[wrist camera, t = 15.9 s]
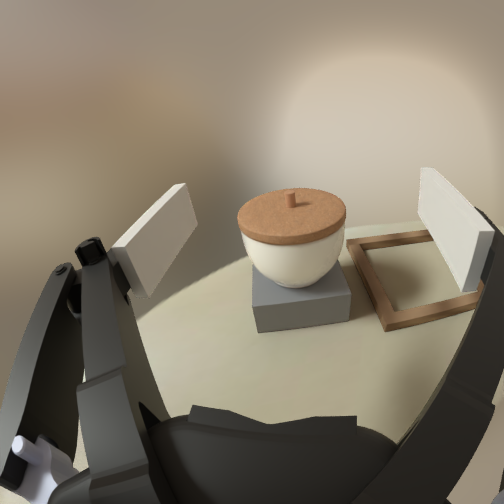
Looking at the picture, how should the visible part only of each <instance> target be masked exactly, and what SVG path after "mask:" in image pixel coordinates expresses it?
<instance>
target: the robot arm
mask: <svg viewBox="0 0 504 504" xmlns="http://www.w3.org/2000/svg"><path fill="white" fill-rule="evenodd" d="M418 215H419V216H420V218H421V220H422V221H423V223H424V224H425V226H426V228H427V229H428V231H429V233H430V234H431V236H432V238H433V239H434V241H435V243H436V244H437V246H438V248H439V250H440V252H441V253H442V255H443V257H444V259H445V261H446V263H447V264H448V266H449V268H450V270H451V272H452V274H453V276H454V278H455V280H456V282H457V284H458V286H459V288H460V290H461V292H470V291H476V290H477V287H478V284H479V281H480V279H481V280H482V282H483V284H484V288H483V290H482V293H481V295H480V298H479V300H478V302H477V305H476V309H475V311H474V314H473V316H472V318H471V321H470V323H469V325H468V328H467V330H466V332H465V334H464V336H463V339H462V341H461V343H460V345H459V347H458V349H457V351H456V353H455V355H454V357H453V359H452V361H451V363H450V365H449V366H448V368H447V370H446V372H445V374H444V375H443V377H442V379H441V381H440V382H439V384H438V386H437V387H436V389H435V391H434V392H433V394H432V396H431V397H430V399H429V400H428V402H427V404H426V405H425V407H424V408H423V410H422V411H421V413H420V414H419V416H418V417H417V418H416V420H415V421H414V423H413V424H412V425H411V427H410V428H409V429H408V431H407V432H406V433H405V434H404V436H403V437H402V438H401V440H400V441H399V442H398V443H397V444H396V443H394V442H393V441H392V440H391V439H389V438H388V437H386V436H385V435H383V434H381V433H379V432H377V431H374V430H372V429H369V428H365V427H361V426H357V416H327V417H317V416H315V417H310V418H305V419H300V420H295V421H289V422H283V423H277V424H265V423H262V422H259V421H256V420H253V419H251V418H248V417H245V416H242V415H240V414H237V413H234V412H232V411H229V410H222V409H215V408H208V407H202V406H197V405H192V408H191V411H190V414H189V415H182V416H177V417H173V418H171V417H170V416H169V414H168V412H167V410H166V408H165V405H164V403H163V400H162V397H161V395H160V392H159V390H158V387H157V384H156V382H155V379H154V376H153V373H152V370H151V367H150V365H149V362H148V359H147V356H146V353H145V349H144V346H143V343H142V340H141V337H140V333H139V330H138V326H137V323H136V319H135V316H134V312H133V308H132V305H131V301H130V299H129V296H128V295H127V292H128V291H129V289H130V288H131V289H132V291H133V293H134V295H135V297H136V298H150V296H151V295H152V293H153V291H154V290H155V288H156V287H157V285H158V284H159V282H160V280H161V279H162V277H163V276H164V274H165V273H166V271H167V270H168V268H169V266H170V265H171V263H172V262H173V260H174V259H175V257H176V256H177V254H178V253H179V251H180V250H181V248H182V246H183V245H184V244H185V242H186V241H187V239H188V238H189V236H190V235H191V233H192V232H193V231H194V229H195V228H196V226H197V225H198V224H197V220H196V217H195V213H194V210H193V207H192V203H191V199H190V196H189V192H188V189H187V185H186V183H183V184H176V185H174V186H173V187H172V188H170V189H169V190H168V191H167V192H166V193H165V194H164V195H163V196H162V197H161V198H160V199H159V200H158V201H157V202H156V203H155V204H154V205H153V206H151V207H150V208H149V209H148V210H147V211H146V212H145V213H144V214H143V215H142V216H141V217H140V218H139V219H138V220H137V221H136V222H135V223H134V224H133V225H132V226H131V227H130V228H129V229H128V231H126V233H124V235H123V236H122V237H121V238H120V239H119V240H118V241H117V242H116V243H115V244H114V245H113V246H112V247H111V249H110V250H109V251H108V252H107V253H106V251H105V249H104V247H103V244H102V242H101V240H100V238H99V237H93V238H90V239H87V240H86V241H84V242H82V243H81V244H80V245H78V247H77V248H76V249H75V253H76V255H77V257H78V259H79V261H80V263H81V265H82V269H79V270H76V271H75V270H74V267H73V266H72V264H71V263H64V264H61V265H59V266H57V267H56V269H55V270H54V271H53V272H52V274H51V275H50V277H49V279H48V281H47V283H46V285H45V287H44V289H43V291H42V293H41V296H40V298H39V300H38V302H37V304H36V307H35V309H34V311H33V313H32V316H31V318H30V321H29V323H28V325H27V328H26V330H25V333H24V336H23V338H22V341H21V344H20V347H19V349H18V352H17V355H16V358H15V361H14V364H13V367H12V370H11V374H10V377H9V380H8V384H7V387H6V391H5V395H4V399H3V403H2V407H1V411H0V486H2V487H4V488H6V489H8V490H10V491H11V492H13V493H16V494H18V495H20V496H22V497H24V498H25V499H26V500H27V501H29V502H30V503H31V504H451V503H450V502H449V501H448V500H447V499H446V498H447V497H448V495H449V494H450V492H451V491H452V489H453V488H454V486H455V485H456V483H457V482H458V480H459V479H460V477H461V475H462V474H463V472H464V471H465V469H466V467H467V466H468V464H469V462H470V460H471V459H472V457H473V455H474V453H475V451H476V450H477V448H478V446H479V444H480V442H481V440H482V438H483V436H484V433H485V432H486V430H487V428H488V425H489V423H490V421H491V418H492V416H493V413H494V410H495V405H493V404H492V399H493V397H494V394H495V391H496V389H497V386H498V384H499V381H500V378H501V375H502V372H503V369H504V235H503V234H502V233H501V232H500V230H499V229H498V228H497V227H496V226H495V225H494V224H493V223H492V221H491V220H490V219H488V217H487V216H486V215H485V214H484V213H483V212H482V211H480V210H479V209H478V208H476V207H473V206H472V205H471V204H470V203H469V202H468V201H467V199H466V198H465V197H464V196H463V195H462V194H460V192H458V191H457V189H456V188H455V187H453V186H452V185H451V184H450V183H449V182H448V181H447V180H446V179H445V178H444V177H443V176H442V175H441V174H440V173H438V172H437V171H436V170H435V169H434V168H426V167H422V168H421V179H420V194H419V205H418ZM68 307H69V308H68ZM69 309H70V310H69ZM84 368H85V377H86V382H84V383H82V382H83V375H84ZM79 418H80V425H81V431H82V436H83V442H84V447H85V452H86V456H87V461H88V465H89V467H88V468H87V469H85V470H83V471H82V472H80V473H79V471H78V470H77V469H75V468H73V462H74V458H75V453H76V447H77V437H78V422H79ZM491 504H504V470H503V475H502V480H501V485H500V490H499V494H498V495H497V496H496V497H495V498H494V499H493V501H492V503H491Z"/></svg>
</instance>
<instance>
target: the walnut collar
mask: <svg viewBox="0 0 504 504" xmlns="http://www.w3.org/2000/svg"><path fill="white" fill-rule="evenodd" d="M433 240H434V239H433V238H432V236H431V234H430V233H429V231H428V230H420V231H412V232H404V233H396V234H388V235H380V236H372V237H364V238H356V239H348V240H347V244H346V247H347V249H348V251H349V253H350V255H351V257H352V259H353V261H354V263H355V265H356V267H357V270H358V272H359V274H360V276H361V278H362V280H363V282H364V285H365V287H366V289H367V291H368V294H369V296H370V298H371V300H372V303H373V305H374V307H375V310H376V312H377V314H378V317H379V319H380V322H381V324H382V326H383V329H384V331H385V332H387V331H392V330H396V329H401V328H405V327H409V326H414V325H418V324H422V323H426V322H430V321H433V320H437V319H441V318H445V317H448V316H452V315H455V314H458V313H462V312H465V311H468V310H472V309H475V308H476V305H477V302H478V300H479V298H480V295H481V293H482V290H483V288H484V284H483V282H482V280H481V279H480V281H479V284H478V287H477V290H478V292H475V293H471V294H468V295H464V296H460V297H457V298H453V299H449V300H445V301H441V302H437V303H433V304H429V305H424V306H420V307H415V308H411V309H406V310H402V311H397V312H394V309H393V307H392V305H391V303H390V301H389V299H388V297H387V295H386V293H385V291H384V289H383V287H382V285H381V283H380V281H379V280H378V278H377V276H376V274H375V272H374V270H373V268H372V266H371V264H370V263H369V261H368V259H367V257H366V255H365V253H364V252H363V250H368V249H375V248H383V247H390V246H397V245H404V244H412V243H419V242H426V241H433Z"/></svg>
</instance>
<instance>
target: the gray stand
mask: <svg viewBox="0 0 504 504" xmlns="http://www.w3.org/2000/svg"><path fill="white" fill-rule="evenodd" d="M350 304H351V291H350V289H349V286H348V283H347V281H346V278H345V276H344V273H343V271H342V268H341V266H340V264H339V261H338V259H337V261H336V263H335V265H334V266H333V267H332V268H331V269H330V271H329V272H328V273H326V274H325V275H324V276H323V277H321V278H320V280H318V281H317V282H316V283H314V284H312V285H310V286H307V287H303V288H286V287H283V286H280V285H278V284H276V283H275V282H274V281H272V280H270V279H268V278H267V277H265V276H264V275H263V274H262V273H260V272H259V271H258V270H257V268H256V267H255V266H254V264H253V285H252V308H253V312H254V317H255V322H256V326H257V331H258V333H261V332H270V331H280V330H288V329H296V328H304V327H311V326H318V325H325V324H332V323H338V322H345V321H349V314H350Z"/></svg>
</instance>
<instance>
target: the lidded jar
mask: <svg viewBox="0 0 504 504" xmlns="http://www.w3.org/2000/svg"><path fill="white" fill-rule="evenodd" d="M237 217H238V223H239V227H240V230H241V233H242V238H243V242H244V245H245V248H246V251H247V253H248V256H249V258H250V260H251V262H252V263H253V264H254V266H255V267H256V268H257V270H258V271H259V272H260V273H262V274H263V275H264V276H265V277H267V278H268V279H270V280H272V281H274V282H275V283H276V284H278V285H280V286H283V287H286V288H303V287H307V286H310V285H312V284H314V283H316V282H317V281H318V280H320V278H321V277H323V276H324V275H325V274H326V273H328V272H329V271H330V269H331V268H332V267H333V266H334V265H335V263H336V261H337V259H338V257H339V255H340V252H341V249H342V245H343V240H344V231H345V219H346V207H345V205H344V203H343V201H342V200H341V199H340V198H338V197H337V196H335V195H333V194H331V193H328V192H325V191H321V190H316V189H307V188H293V189H283V190H278V191H273V192H269V193H266V194H263V195H260V196H258V197H256V198H253V199H252V200H250V201H248V202H247V203H246V204H244V206H243V207H242V208H241V209H240V211H239V213H238V216H237Z"/></svg>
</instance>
